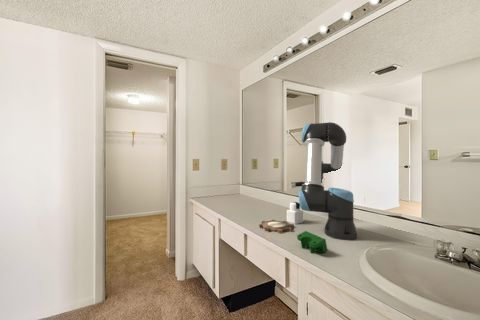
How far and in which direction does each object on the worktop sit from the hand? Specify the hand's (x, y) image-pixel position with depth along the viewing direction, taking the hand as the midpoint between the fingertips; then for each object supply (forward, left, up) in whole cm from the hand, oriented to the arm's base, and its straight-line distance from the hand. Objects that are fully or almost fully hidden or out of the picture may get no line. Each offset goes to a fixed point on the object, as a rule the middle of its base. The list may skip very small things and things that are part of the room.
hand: (300, 187), depth 135 cm
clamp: (-25, +40, -21) cm, 51 cm away
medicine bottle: (0, +8, -21) cm, 22 cm away
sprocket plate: (+2, +25, -21) cm, 32 cm away
